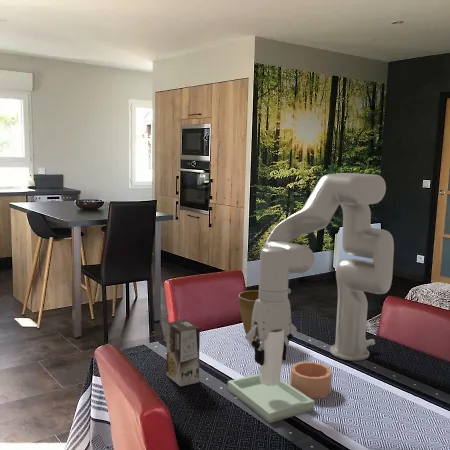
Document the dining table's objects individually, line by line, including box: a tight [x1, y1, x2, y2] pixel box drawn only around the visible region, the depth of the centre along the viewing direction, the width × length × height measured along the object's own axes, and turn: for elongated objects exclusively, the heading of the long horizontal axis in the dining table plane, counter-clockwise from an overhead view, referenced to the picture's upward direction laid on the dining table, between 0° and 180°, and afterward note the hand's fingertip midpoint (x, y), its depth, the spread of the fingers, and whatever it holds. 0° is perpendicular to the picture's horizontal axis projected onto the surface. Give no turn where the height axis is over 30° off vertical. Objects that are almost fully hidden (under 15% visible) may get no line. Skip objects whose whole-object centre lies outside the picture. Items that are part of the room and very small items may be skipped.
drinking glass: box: [258, 329, 284, 386], centre depth 135 cm, size 7×7×15 cm
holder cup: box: [289, 361, 333, 399], centre depth 144 cm, size 11×11×6 cm
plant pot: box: [238, 290, 259, 340], centre depth 179 cm, size 15×15×16 cm
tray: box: [227, 373, 315, 424], centre depth 137 cm, size 14×20×2 cm
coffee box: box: [166, 319, 201, 387], centre depth 147 cm, size 9×6×16 cm
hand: (270, 360), depth 136 cm, fingers closed on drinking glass, 6 cm apart
